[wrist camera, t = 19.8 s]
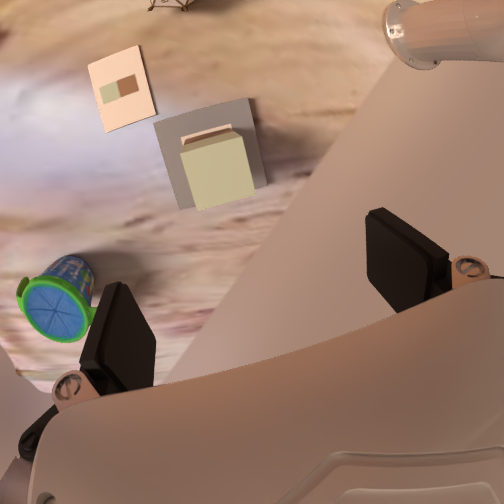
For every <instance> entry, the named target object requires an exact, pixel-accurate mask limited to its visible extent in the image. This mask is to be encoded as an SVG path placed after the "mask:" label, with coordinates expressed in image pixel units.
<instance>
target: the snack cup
mask: <svg viewBox="0 0 504 504" xmlns="http://www.w3.org/2000/svg"><path fill="white" fill-rule="evenodd" d="M93 289H94V276H93V274H92V271H91V269H90V268H89V266H88V265H87V264H86V263H85V262H84V261H83V260H82V259H81V258H77V257H74V256H65V257H61V258H59V259H58V260H57V261H55V262H54V263H53V264H52V265H51V266H49V267H48V268H47V269H46V270H45V271H44V272H43V273H42V274H41V275H39V276H38V277H35V278H33V279H31V280H30V281H29V278H28V277H24V278H23V279H22V280H21V282H20V284H19V286H18V288H17V291H16V298H17V302H18V305H19V308H20V310H21V311H22V312H23V313H24V314H25V316H26V318H27V320H28V321H29V323H30V324H31V325H32V326H33V327H34V328H35V329H36V330H37V331H38V332H39V333H40V334H42V335H43V336H45V337H47V338H49V339H50V340H53V341H56V342H61V343H71V342H75V341H78V340H80V339H81V338H82V337H83V336H84V335H85V334H86V332H87V330H88V327H89V326H90V325H91V324H92V321H93V318H94V315H95V313H96V310H97V307H91V300H92V295H93Z"/></svg>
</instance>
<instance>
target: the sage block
mask: <svg viewBox="0 0 504 504" xmlns="http://www.w3.org/2000/svg"><path fill="white" fill-rule="evenodd" d="M180 156H181V159H182V163H183V166H184V169H185V173H186V176H187V179H188V182H189V186H190V189H191V192H192V195H193V199H194V202H195V205H196V208H197V211H200V210H203V209H207V208H210V207H213V206H217V205H220V204H224V203H227V202H231V201H234V200H238V199H242V198H245V197H249V196H253V195H256V193H255V189H254V184H253V180H252V176H251V172H250V167H249V163H248V159H247V155H246V151H245V147H244V142H243V138H242V136H240V135H239V134H237V133H236V132H234V131H233V132H229V133H225V134H221V135H217V136H214V137H210V138H207V139H203V140H199V141H196V142H193V143H189V144H186V145H183V146H182V149H181V152H180Z"/></svg>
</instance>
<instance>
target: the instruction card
mask: <svg viewBox="0 0 504 504" xmlns="http://www.w3.org/2000/svg"><path fill="white" fill-rule="evenodd" d="M88 69H89V73H90V77H91V81H92V85H93V89H94V93H95V97H96V101H97V105H98V108H99V112H100V115H101V119H102V122H103V126H104V129H105V132H106V133H107V132H110V131H112V130H115V129H117V128H120V127H122V126H125V125H128V124H130V123H133V122H136V121H139V120H142V119H144V118H147V117H150V116H153V115H156V112H155V108H154V105H153V101H152V97H151V94H150V90H149V86H148V82H147V78H146V74H145V70H144V67H143V63H142V58H141V54H140V50H139V46H138V45H137V46H134V47H131V48H128V49H126V50H123V51H121V52H118V53H115V54H113V55H110V56H108V57H106V58H103V59H101V60H98V61H96V62H94V63H92V64H89V65H88Z"/></svg>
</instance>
